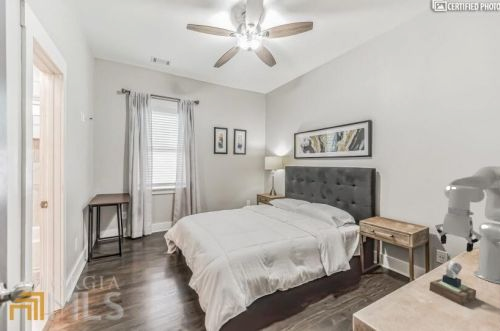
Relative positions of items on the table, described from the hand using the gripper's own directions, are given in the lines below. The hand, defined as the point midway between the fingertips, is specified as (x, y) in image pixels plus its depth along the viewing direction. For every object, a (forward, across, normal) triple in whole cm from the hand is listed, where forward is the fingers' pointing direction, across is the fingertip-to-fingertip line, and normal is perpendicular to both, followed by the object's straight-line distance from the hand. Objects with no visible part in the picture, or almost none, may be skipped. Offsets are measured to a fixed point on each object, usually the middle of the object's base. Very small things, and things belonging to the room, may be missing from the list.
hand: (455, 247), depth 106 cm
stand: (+23, 0, 0) cm, 23 cm away
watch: (+19, +1, -1) cm, 19 cm away
